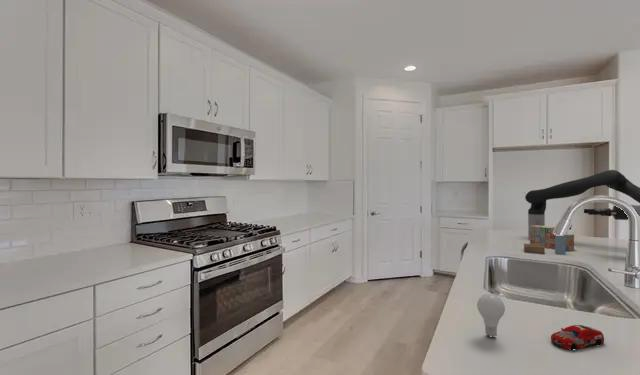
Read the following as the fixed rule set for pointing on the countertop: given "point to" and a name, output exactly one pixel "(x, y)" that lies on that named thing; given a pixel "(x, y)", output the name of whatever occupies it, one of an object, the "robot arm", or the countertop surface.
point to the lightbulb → (491, 312)
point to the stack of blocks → (548, 237)
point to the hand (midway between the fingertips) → (586, 211)
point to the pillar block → (560, 245)
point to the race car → (577, 337)
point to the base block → (534, 248)
